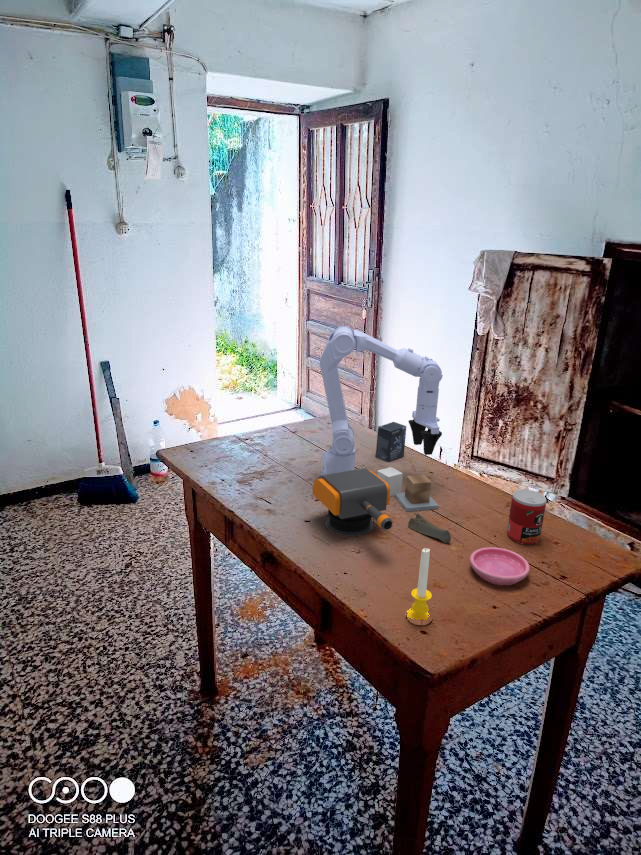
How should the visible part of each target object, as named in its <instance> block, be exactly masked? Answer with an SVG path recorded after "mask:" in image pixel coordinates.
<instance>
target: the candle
mask: <svg viewBox="0 0 641 855" xmlns="http://www.w3.org/2000/svg"><path fill="white" fill-rule="evenodd" d="M420 554H421V555H420V562H419V570H418V571H419V572H418V577H417V578H418V581H417V587H415V588H413V589H412V591H411V592H410V594H411V596H412V597H413V599H414V602H413V603H412V604H411V608H409V610H408V609H407V610H406V612H407V613H408V614H407V617H409V618H411V619H413V620H414V618H415V619H416V620H418V619H420V620H421V619H424V620H425V619H426V620H427V618H428V617H429V616H430V615H429V613H428V611H429V610H430V609H429V605H428V602H427V601H429V600H431V599H432V596H433V594H432V592H431V591H430V590H428V589H427V588H428V577H429V576H428V575H429V566H430V554H431V549H430V548H427V547H424V548H422V550H421V553H420ZM411 609H412V610H411ZM428 615H429V616H428ZM409 618H408V619H409Z"/></svg>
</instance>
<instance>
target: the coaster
mask: <svg viewBox="0 0 641 855" xmlns="http://www.w3.org/2000/svg"><path fill="white" fill-rule="evenodd" d="M394 497H395V499H396V500H397V502H399V504H400V506H402V508H403V509H404V510H405V512H406V513H408V512H418V511H428V510H438V509H439V504H438V503H437V502H436V501H435V500H434V499H433V498H432V496H430V499H429V503H419V504H411V503H410V502H409V500H408V499H407V498H406V496H405V491H404V492H401V493H395V495H394Z"/></svg>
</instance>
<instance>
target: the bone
mask: <svg viewBox="0 0 641 855" xmlns="http://www.w3.org/2000/svg"><path fill="white" fill-rule="evenodd" d="M407 527H408V528H409V529H411V530H413V531H414V532H417V533H420V534H423V535H425V536H428V537H431V538H434V539H438V540H439V541H441V543H444V544H449V543H450V542H451V540H452V536H451V534H450V532H449V530H448V529H442V528H440V527H438V526H436V525H434V524H432V523H431V522H430V521H428V520H426V519H425V518H424V517H423V516H422V515H421V514H420V513H416V515H415V517H411V518H410V519H409V520H408V525H407Z"/></svg>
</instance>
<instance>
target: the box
mask: <svg viewBox="0 0 641 855" xmlns="http://www.w3.org/2000/svg"><path fill="white" fill-rule="evenodd" d="M377 427H378V428H377V435H376V436H377V437H376V448H375V449H376V450H375V458H378V459H380V460H382V461H385V462H387V463H390V462H391V461H395V460H397V459H399V458H403V457H405V449H406V448H405V447H406V437H407V436H406V435H407V425H404V424H402V423H398V422H395V421H392V422H388V423H386V424H383V425H382V424H381V425H379V426H377Z"/></svg>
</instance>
